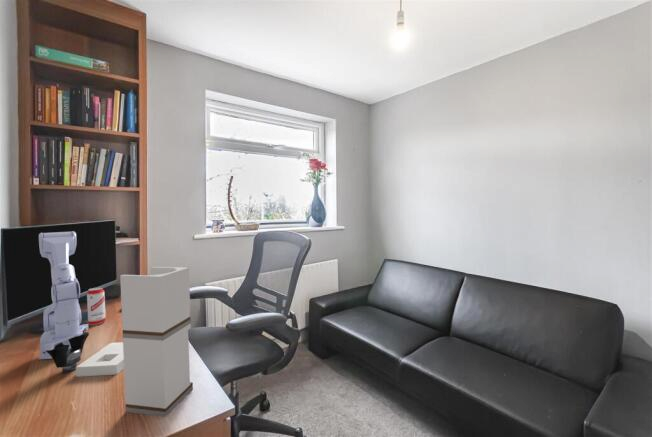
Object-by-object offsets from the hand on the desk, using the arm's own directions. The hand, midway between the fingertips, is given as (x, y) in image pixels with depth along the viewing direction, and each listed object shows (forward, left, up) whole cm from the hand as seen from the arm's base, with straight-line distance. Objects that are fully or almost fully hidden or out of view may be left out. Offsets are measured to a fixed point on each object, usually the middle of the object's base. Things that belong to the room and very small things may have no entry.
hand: (69, 361), depth 91 cm
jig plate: (+11, +4, -3) cm, 12 cm away
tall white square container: (+37, -18, -3) cm, 41 cm away
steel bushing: (0, 0, -3) cm, 3 cm away
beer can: (-19, +40, -3) cm, 44 cm away
